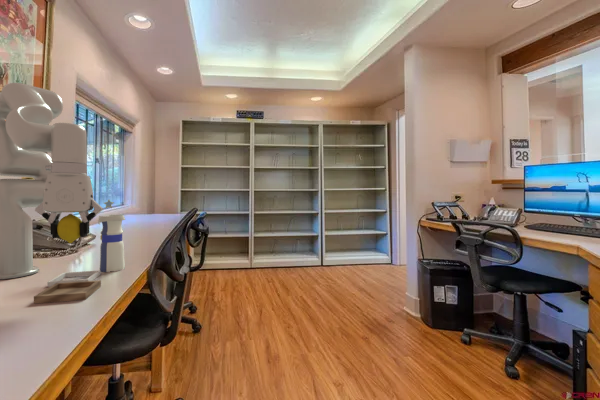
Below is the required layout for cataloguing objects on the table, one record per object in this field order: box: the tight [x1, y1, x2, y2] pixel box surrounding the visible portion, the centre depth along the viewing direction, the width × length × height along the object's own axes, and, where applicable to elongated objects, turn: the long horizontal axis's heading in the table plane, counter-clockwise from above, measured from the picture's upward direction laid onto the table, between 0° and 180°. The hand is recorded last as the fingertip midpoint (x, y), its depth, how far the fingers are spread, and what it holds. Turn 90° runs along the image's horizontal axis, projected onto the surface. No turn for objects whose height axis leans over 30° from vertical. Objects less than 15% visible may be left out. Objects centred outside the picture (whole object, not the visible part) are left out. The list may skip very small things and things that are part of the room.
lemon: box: [57, 213, 82, 244], centre depth 79 cm, size 6×6×8 cm
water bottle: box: [97, 199, 126, 273], centre depth 104 cm, size 8×9×25 cm
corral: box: [46, 269, 101, 288], centre depth 92 cm, size 10×10×1 cm
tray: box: [33, 279, 102, 305], centre depth 79 cm, size 11×11×2 cm
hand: (70, 236), depth 79 cm, fingers closed on lemon, 5 cm apart
